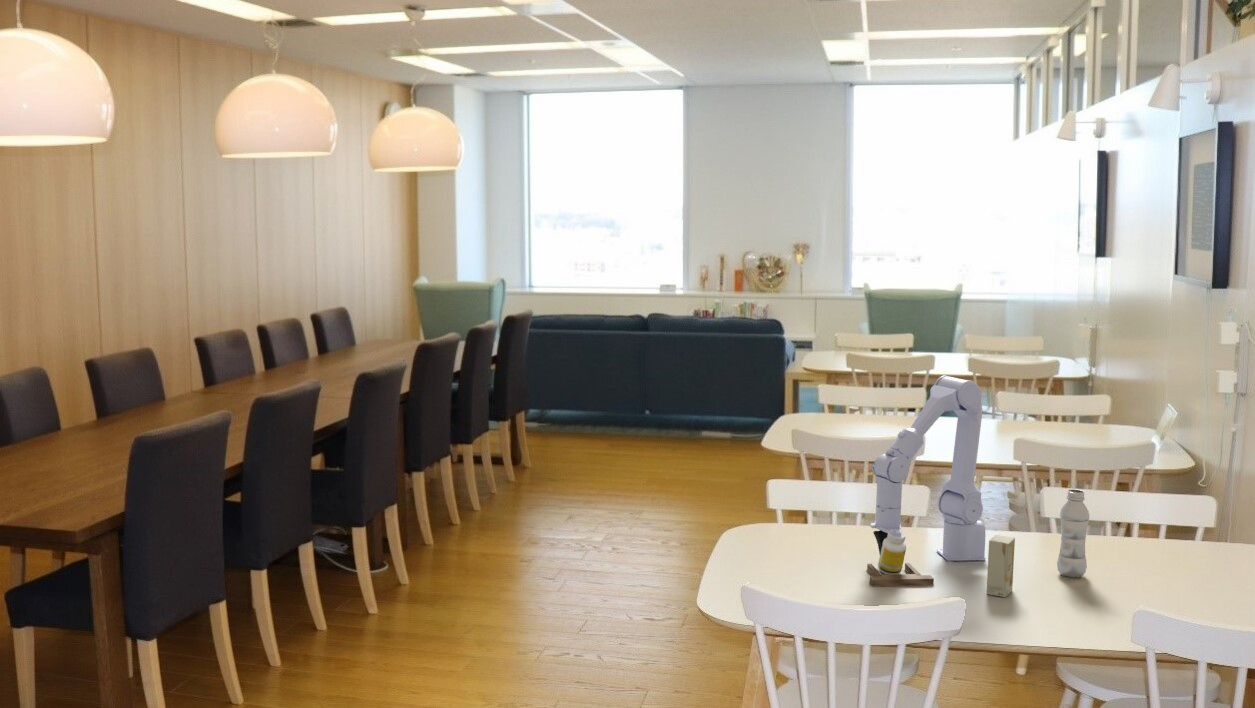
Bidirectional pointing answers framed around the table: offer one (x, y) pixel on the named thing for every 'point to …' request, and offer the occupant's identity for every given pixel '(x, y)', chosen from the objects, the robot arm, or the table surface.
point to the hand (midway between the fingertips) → (886, 562)
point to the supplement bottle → (892, 553)
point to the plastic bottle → (1073, 535)
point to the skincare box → (1000, 565)
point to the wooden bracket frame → (899, 577)
